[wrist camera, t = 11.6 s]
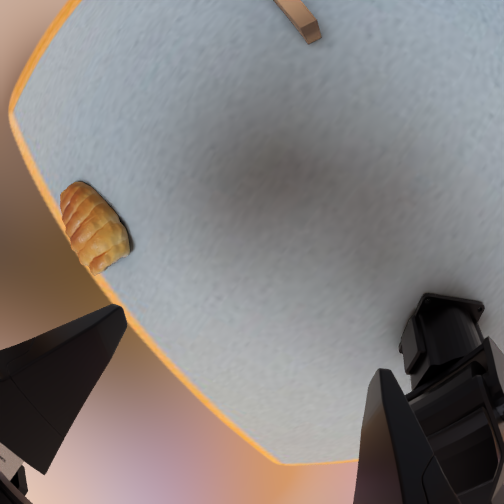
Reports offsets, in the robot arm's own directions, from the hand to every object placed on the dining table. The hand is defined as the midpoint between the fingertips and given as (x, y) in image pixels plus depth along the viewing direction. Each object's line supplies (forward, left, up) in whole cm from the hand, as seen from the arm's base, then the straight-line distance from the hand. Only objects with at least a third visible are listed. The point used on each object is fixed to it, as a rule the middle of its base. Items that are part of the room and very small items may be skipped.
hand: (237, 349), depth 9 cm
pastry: (+19, +4, -14) cm, 24 cm away
